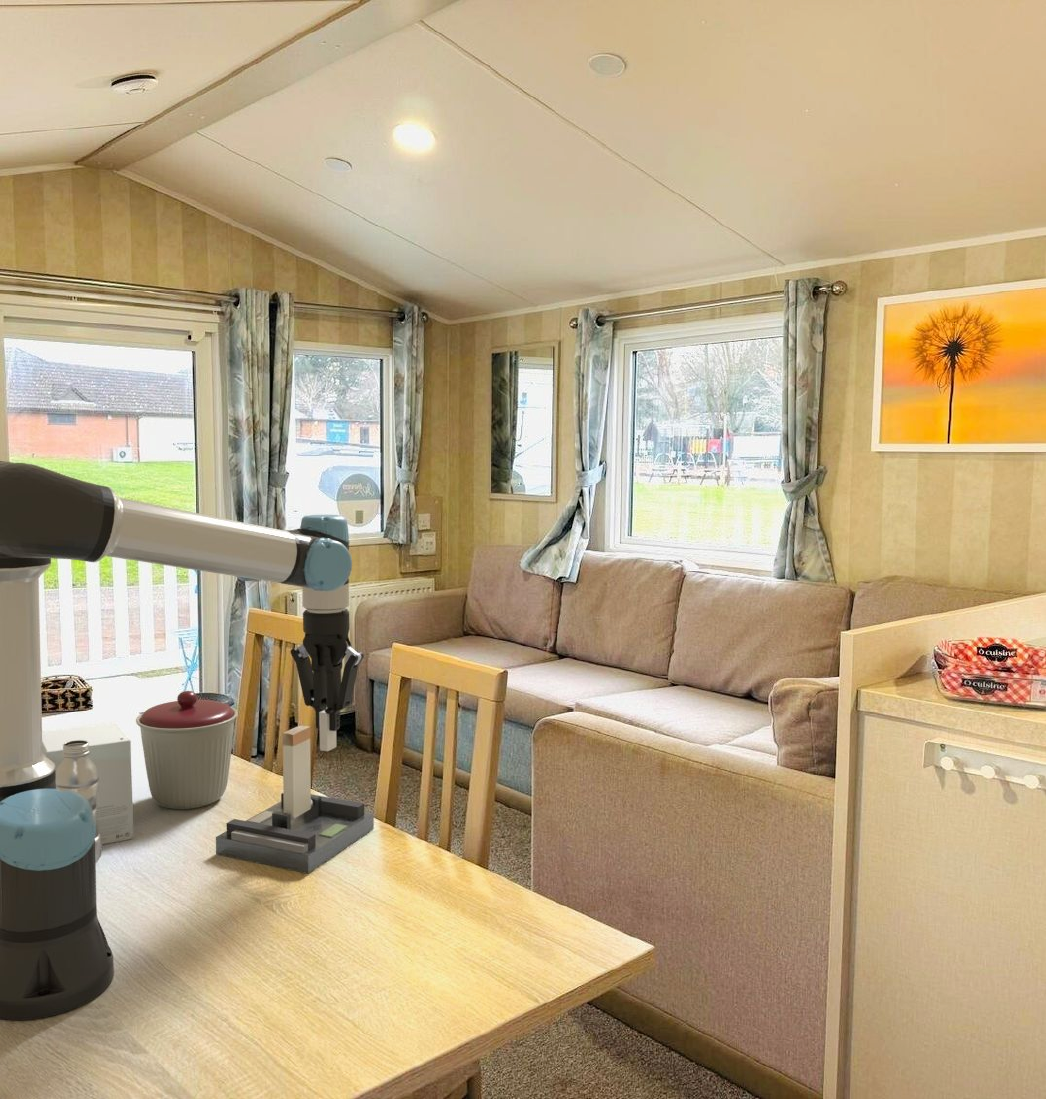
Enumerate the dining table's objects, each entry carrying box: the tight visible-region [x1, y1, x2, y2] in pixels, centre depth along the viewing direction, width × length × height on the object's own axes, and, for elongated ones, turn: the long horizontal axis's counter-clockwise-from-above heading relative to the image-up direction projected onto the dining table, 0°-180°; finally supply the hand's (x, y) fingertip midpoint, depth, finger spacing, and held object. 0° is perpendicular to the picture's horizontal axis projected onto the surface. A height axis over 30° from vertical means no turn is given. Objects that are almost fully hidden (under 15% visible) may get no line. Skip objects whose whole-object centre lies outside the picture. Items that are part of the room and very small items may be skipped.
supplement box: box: [42, 721, 134, 845], centre depth 168 cm, size 13×13×18 cm
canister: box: [135, 690, 239, 810], centre depth 184 cm, size 18×18×21 cm
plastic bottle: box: [56, 740, 103, 863], centre depth 155 cm, size 6×7×20 cm
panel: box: [215, 794, 375, 875], centre depth 167 cm, size 20×18×6 cm
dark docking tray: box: [226, 792, 365, 854], centre depth 166 cm, size 18×16×2 cm
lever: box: [281, 725, 313, 819], centre depth 166 cm, size 7×2×15 cm, turn 158°
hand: (328, 748), depth 163 cm, fingers closed
